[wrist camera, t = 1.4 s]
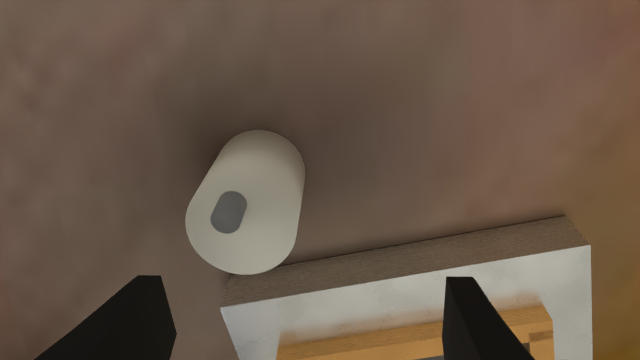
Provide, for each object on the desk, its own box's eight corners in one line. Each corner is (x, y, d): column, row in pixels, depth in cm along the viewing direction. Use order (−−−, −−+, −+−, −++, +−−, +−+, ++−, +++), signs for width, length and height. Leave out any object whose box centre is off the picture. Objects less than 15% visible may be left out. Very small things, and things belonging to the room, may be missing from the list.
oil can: (231, 218, 24) (197, 302, 18) (204, 140, 22) (158, 205, 16) (314, 202, 23) (306, 284, 17) (293, 121, 21) (276, 181, 16)
